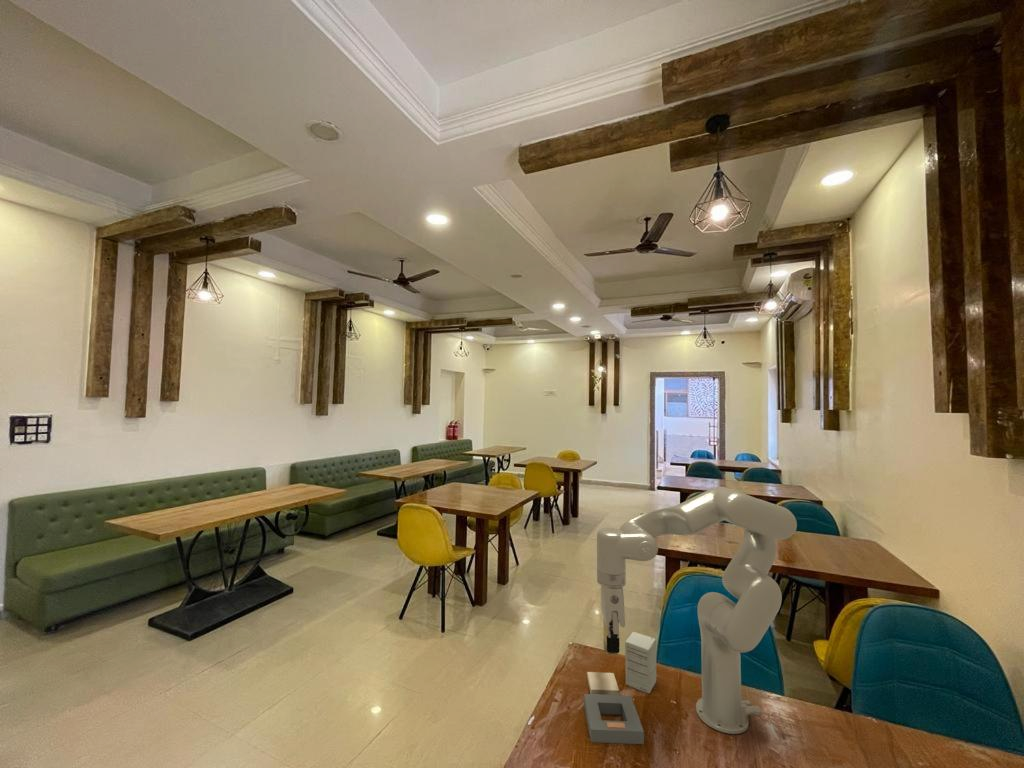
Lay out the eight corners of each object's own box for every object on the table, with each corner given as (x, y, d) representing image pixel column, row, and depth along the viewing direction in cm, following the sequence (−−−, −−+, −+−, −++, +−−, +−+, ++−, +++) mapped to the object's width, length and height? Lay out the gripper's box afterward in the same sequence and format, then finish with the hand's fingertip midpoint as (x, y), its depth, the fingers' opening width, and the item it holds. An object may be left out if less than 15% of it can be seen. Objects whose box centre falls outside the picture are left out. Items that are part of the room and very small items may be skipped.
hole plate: (631, 706, 116) (631, 694, 117) (643, 744, 103) (643, 730, 104) (583, 705, 117) (583, 693, 117) (590, 742, 104) (590, 728, 104)
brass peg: (617, 645, 114) (617, 615, 114) (620, 654, 110) (620, 623, 110) (602, 645, 114) (602, 614, 114) (604, 653, 110) (604, 622, 110)
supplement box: (633, 672, 132) (633, 630, 132) (657, 681, 127) (656, 638, 128) (624, 684, 126) (624, 641, 126) (649, 694, 121) (649, 649, 122)
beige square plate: (613, 679, 128) (613, 672, 128) (619, 697, 120) (619, 690, 120) (587, 678, 128) (587, 672, 128) (591, 696, 120) (591, 689, 120)
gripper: (632, 590, 104) (632, 667, 103) (619, 565, 121) (619, 631, 120) (601, 589, 105) (602, 665, 104) (592, 564, 121) (592, 630, 120)
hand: (611, 646), depth 112 cm, fingers closed on brass peg, 4 cm apart
